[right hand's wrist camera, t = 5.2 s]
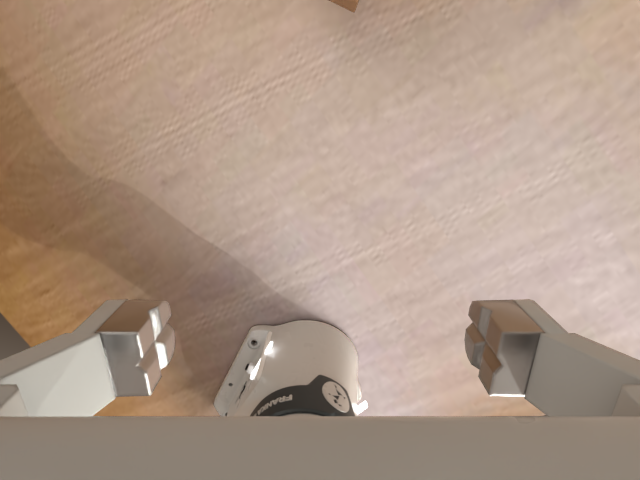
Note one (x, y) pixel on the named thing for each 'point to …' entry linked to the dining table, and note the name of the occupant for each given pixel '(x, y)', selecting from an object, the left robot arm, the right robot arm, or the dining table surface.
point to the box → (347, 4)
